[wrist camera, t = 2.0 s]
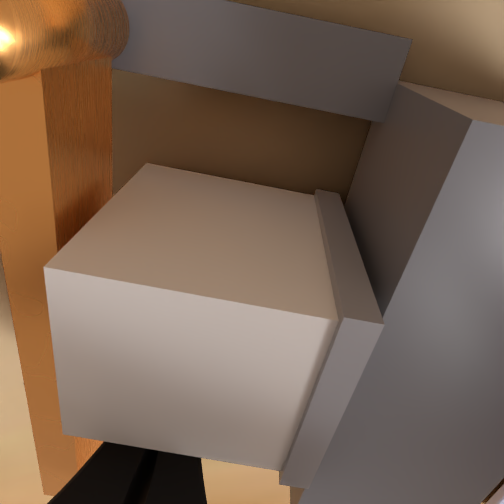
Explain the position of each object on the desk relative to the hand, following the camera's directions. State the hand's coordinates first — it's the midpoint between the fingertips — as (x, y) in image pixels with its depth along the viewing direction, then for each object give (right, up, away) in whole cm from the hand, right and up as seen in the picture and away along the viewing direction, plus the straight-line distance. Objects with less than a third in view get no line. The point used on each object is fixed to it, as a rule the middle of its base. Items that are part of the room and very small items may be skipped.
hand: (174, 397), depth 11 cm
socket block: (+3, +5, 0) cm, 6 cm away
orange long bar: (-2, +4, -1) cm, 5 cm away
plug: (+3, +4, 0) cm, 5 cm away
